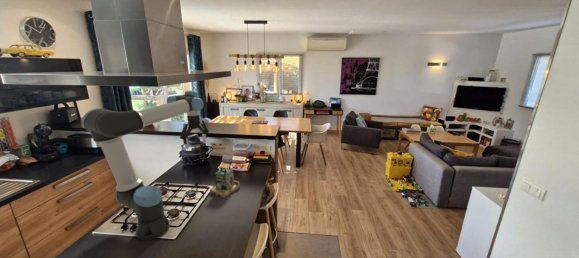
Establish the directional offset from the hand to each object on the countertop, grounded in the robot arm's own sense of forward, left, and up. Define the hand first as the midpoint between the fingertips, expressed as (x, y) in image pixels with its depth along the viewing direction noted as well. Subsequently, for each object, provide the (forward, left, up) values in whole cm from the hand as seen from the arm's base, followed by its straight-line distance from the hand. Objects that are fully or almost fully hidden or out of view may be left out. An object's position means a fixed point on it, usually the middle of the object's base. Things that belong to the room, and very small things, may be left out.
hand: (196, 145), depth 153 cm
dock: (+8, -17, -32) cm, 37 cm away
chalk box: (+8, -17, -29) cm, 35 cm away
